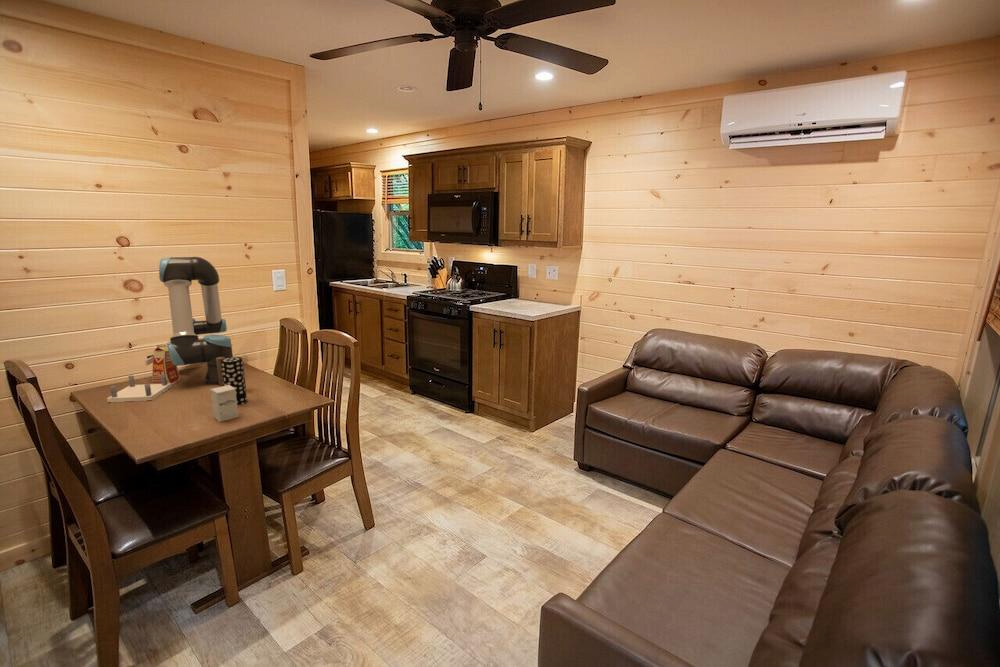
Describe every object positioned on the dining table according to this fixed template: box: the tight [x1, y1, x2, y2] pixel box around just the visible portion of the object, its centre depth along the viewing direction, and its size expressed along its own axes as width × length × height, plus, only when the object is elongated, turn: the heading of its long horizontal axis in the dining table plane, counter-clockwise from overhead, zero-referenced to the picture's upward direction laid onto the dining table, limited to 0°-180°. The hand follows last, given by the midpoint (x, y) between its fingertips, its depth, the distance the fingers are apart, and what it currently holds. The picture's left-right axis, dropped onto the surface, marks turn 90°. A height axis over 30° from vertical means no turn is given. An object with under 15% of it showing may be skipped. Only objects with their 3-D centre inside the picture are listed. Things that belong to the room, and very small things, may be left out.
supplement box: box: [209, 385, 239, 423], centre depth 200 cm, size 7×7×13 cm
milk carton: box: [151, 344, 181, 385], centre depth 241 cm, size 9×9×20 cm
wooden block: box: [216, 357, 247, 389], centre depth 227 cm, size 4×11×18 cm, turn 134°
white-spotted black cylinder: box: [220, 356, 248, 406], centre depth 215 cm, size 8×8×20 cm
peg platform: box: [106, 374, 173, 403], centre depth 225 cm, size 18×18×7 cm
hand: (161, 362), depth 239 cm, fingers open, 13 cm apart
